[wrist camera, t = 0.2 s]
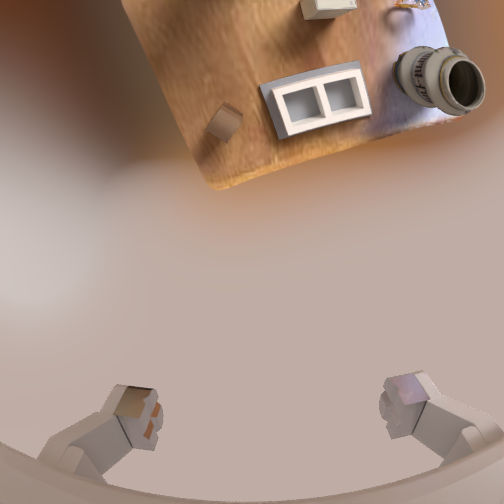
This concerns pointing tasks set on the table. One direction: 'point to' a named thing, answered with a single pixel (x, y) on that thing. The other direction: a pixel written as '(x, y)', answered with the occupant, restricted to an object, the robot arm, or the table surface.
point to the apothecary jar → (440, 79)
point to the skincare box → (326, 8)
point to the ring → (421, 4)
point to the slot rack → (317, 98)
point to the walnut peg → (225, 122)
